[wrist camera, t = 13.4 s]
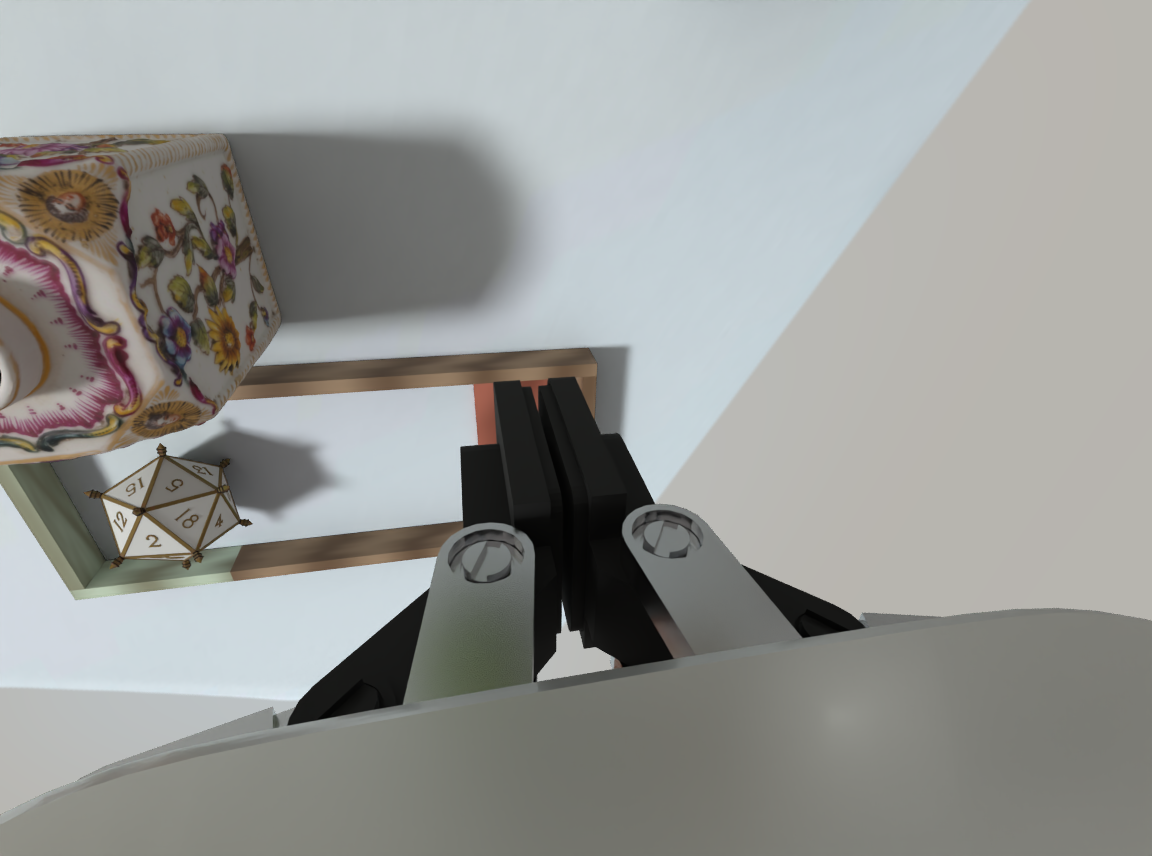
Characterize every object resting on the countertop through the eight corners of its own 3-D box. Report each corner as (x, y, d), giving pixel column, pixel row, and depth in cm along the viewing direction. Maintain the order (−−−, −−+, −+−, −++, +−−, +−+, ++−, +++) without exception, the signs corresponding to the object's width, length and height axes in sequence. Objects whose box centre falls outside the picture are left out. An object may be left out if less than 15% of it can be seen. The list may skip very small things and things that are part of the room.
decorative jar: (95, 339, 36) (-164, 521, 20) (-6, 136, 29) (-481, 181, 14) (292, 325, 37) (188, 481, 22) (235, 131, 31) (40, 167, 16)
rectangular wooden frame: (588, 347, 43) (597, 363, 40) (581, 516, 51) (588, 538, 49) (-16, 381, 35) (-51, 403, 33) (96, 571, 44) (75, 600, 42)
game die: (241, 450, 45) (294, 540, 41) (143, 517, 43) (189, 617, 39) (159, 395, 37) (214, 499, 33) (34, 473, 35) (78, 593, 31)
